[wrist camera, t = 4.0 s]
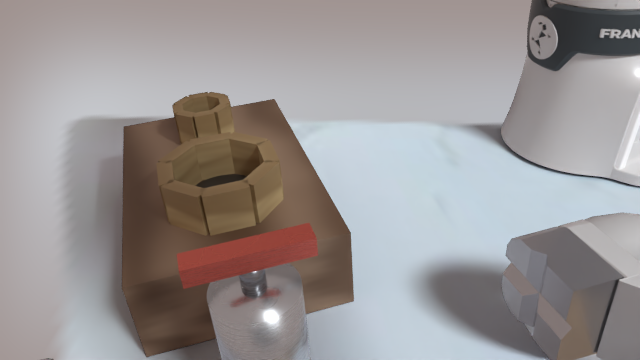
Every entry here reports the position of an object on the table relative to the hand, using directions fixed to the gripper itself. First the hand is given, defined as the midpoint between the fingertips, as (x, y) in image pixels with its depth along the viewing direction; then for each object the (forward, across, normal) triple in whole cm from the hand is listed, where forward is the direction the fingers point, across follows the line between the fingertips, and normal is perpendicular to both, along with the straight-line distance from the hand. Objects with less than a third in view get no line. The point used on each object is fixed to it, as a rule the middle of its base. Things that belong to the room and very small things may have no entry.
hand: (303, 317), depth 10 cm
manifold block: (+30, 0, +20) cm, 36 cm away
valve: (+12, 0, +20) cm, 24 cm away
